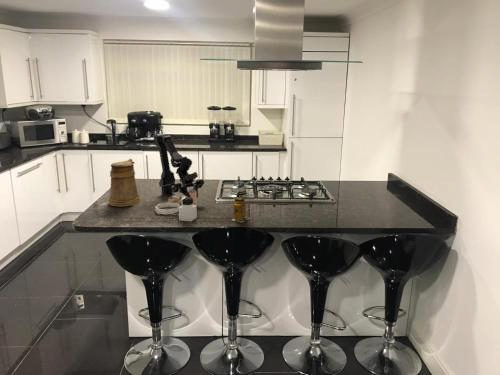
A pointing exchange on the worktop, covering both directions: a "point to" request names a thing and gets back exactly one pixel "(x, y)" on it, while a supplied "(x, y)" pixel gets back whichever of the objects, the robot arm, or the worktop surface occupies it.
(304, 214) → the worktop surface
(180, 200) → the parts tray
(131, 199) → the tankard
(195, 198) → the spice jar
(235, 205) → the condiment
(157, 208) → the dish
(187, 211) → the medicine bottle
